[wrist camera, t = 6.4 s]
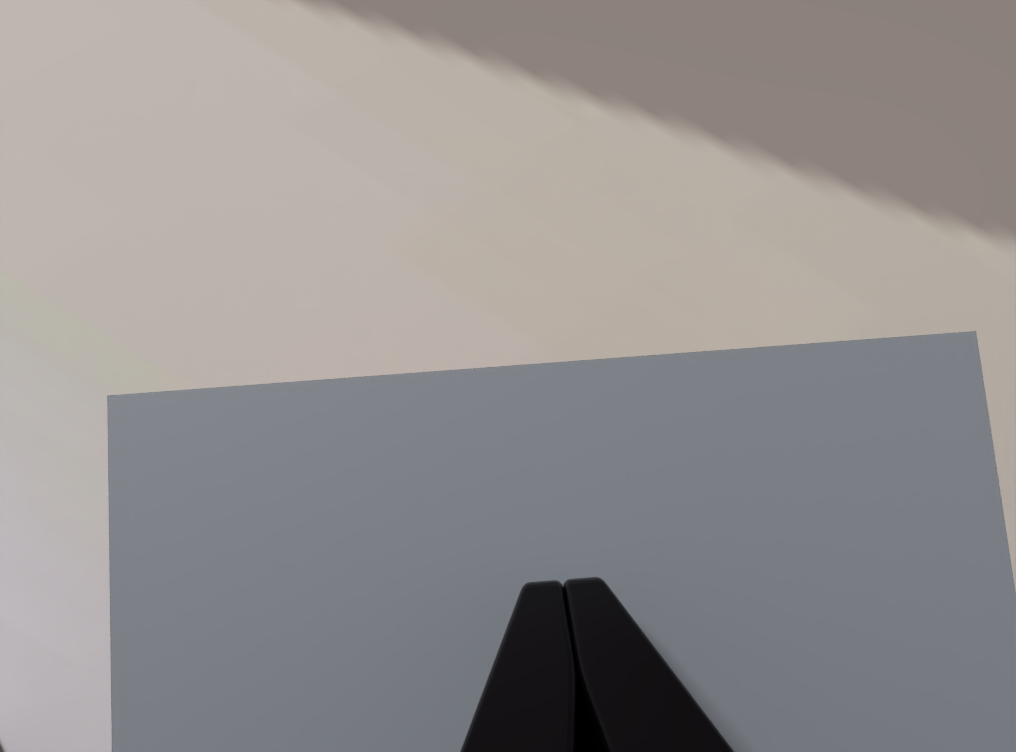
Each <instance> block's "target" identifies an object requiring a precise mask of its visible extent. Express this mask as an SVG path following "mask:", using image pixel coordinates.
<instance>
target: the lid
mask: <svg viewBox="0 0 1016 752" xmlns="http://www.w3.org/2000/svg"><path fill="white" fill-rule="evenodd" d="M107 403H108V481H109V559H110V636H111V714H112V752H460V751H461V748H462V745H463V743H464V740H465V737H466V735H467V732H468V729H469V727H470V724H471V721H472V719H473V716H474V713H475V711H476V708H477V705H478V703H479V700H480V697H481V695H482V692H483V689H484V687H485V684H486V681H487V679H488V676H489V673H490V671H491V668H492V665H493V663H494V660H495V657H496V655H497V652H498V649H499V647H500V644H501V641H502V639H503V636H504V633H505V631H506V628H507V625H508V623H509V620H510V617H511V615H512V612H513V609H514V607H515V604H516V601H517V599H518V596H519V593H520V591H521V588H522V587H523V585H524V584H526V583H528V582H537V581H550V580H558V581H559V582H561V584H562V586H563V584H564V582H565V581H566V580H568V579H575V578H588V577H599V578H601V579H603V580H604V581H605V582H606V584H607V585H608V586H609V587H610V589H611V590H612V591H613V593H614V594H615V595H616V597H617V598H618V599H619V601H620V602H621V603H622V605H623V606H624V607H625V608H626V610H627V611H628V612H629V614H630V615H631V616H632V618H633V619H634V620H635V622H636V623H637V624H638V626H639V627H640V628H641V630H642V631H643V632H644V633H645V635H646V636H647V637H648V639H649V640H650V641H651V643H652V644H653V645H654V647H655V648H656V649H657V651H658V652H659V653H660V654H661V656H662V657H663V658H664V660H665V661H666V662H667V664H668V665H669V666H670V668H671V669H672V670H673V672H674V673H675V674H676V676H677V677H678V678H679V679H680V681H681V682H682V683H683V685H684V686H685V687H686V689H687V690H688V691H689V693H690V694H691V695H692V697H693V698H694V699H695V700H696V702H697V703H698V704H699V706H700V707H701V708H702V710H703V711H704V712H705V714H706V715H707V716H708V718H709V719H710V720H711V722H712V723H713V724H714V725H715V727H716V728H717V729H718V731H719V732H720V733H721V735H722V736H723V737H724V739H725V740H726V741H727V743H728V744H729V745H730V746H731V748H732V749H733V750H734V752H1016V593H1015V586H1014V580H1013V573H1012V567H1011V560H1010V553H1009V547H1008V540H1007V533H1006V527H1005V520H1004V514H1003V507H1002V500H1001V494H1000V487H999V481H998V474H997V467H996V461H995V454H994V447H993V441H992V434H991V428H990V421H989V414H988V408H987V401H986V394H985V388H984V381H983V375H982V368H981V361H980V355H979V348H978V341H977V335H976V331H973V332H959V333H946V334H932V335H919V336H905V337H892V338H878V339H865V340H851V341H838V342H824V343H811V344H797V345H784V346H770V347H757V348H743V349H730V350H716V351H703V352H689V353H676V354H662V355H649V356H635V357H622V358H609V359H595V360H582V361H568V362H555V363H541V364H528V365H514V366H501V367H487V368H474V369H460V370H447V371H433V372H420V373H406V374H393V375H379V376H366V377H352V378H339V379H325V380H312V381H298V382H285V383H271V384H258V385H244V386H231V387H217V388H204V389H191V390H177V391H164V392H150V393H137V394H123V395H110V396H107Z"/></svg>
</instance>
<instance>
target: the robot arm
mask: <svg viewBox="0 0 1016 752" xmlns="http://www.w3.org/2000/svg"><path fill="white" fill-rule="evenodd" d="M460 752H734V750H733V749H732V748H731V746H730V745H729V744H728V743H727V741H726V740H725V739H724V737H723V736H722V735H721V733H720V732H719V731H718V729H717V728H716V727H715V725H714V724H713V723H712V722H711V720H710V719H709V718H708V716H707V715H706V714H705V712H704V711H703V710H702V708H701V707H700V706H699V704H698V703H697V702H696V700H695V699H694V698H693V697H692V695H691V694H690V693H689V691H688V690H687V689H686V687H685V686H684V685H683V683H682V682H681V681H680V679H679V678H678V677H677V676H676V674H675V673H674V672H673V670H672V669H671V668H670V666H669V665H668V664H667V662H666V661H665V660H664V658H663V657H662V656H661V654H660V653H659V652H658V651H657V649H656V648H655V647H654V645H653V644H652V643H651V641H650V640H649V639H648V637H647V636H646V635H645V633H644V632H643V631H642V630H641V628H640V627H639V626H638V624H637V623H636V622H635V620H634V619H633V618H632V616H631V615H630V614H629V612H628V611H627V610H626V608H625V607H624V606H623V605H622V603H621V602H620V601H619V599H618V598H617V597H616V595H615V594H614V593H613V591H612V590H611V589H610V587H609V586H608V585H607V584H606V582H605V581H604V580H603V579H601V578H599V577H588V578H575V579H568V580H566V581H565V582H564V584H563V586H562V584H561V582H559V581H558V580H550V581H537V582H528V583H526V584H524V585H523V587H522V588H521V591H520V593H519V596H518V599H517V601H516V604H515V607H514V609H513V612H512V615H511V617H510V620H509V623H508V625H507V628H506V631H505V633H504V636H503V639H502V641H501V644H500V647H499V649H498V652H497V655H496V657H495V660H494V663H493V665H492V668H491V671H490V673H489V676H488V679H487V681H486V684H485V687H484V689H483V692H482V695H481V697H480V700H479V703H478V705H477V708H476V711H475V713H474V716H473V719H472V721H471V724H470V727H469V729H468V732H467V735H466V737H465V740H464V743H463V745H462V748H461V751H460Z"/></svg>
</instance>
